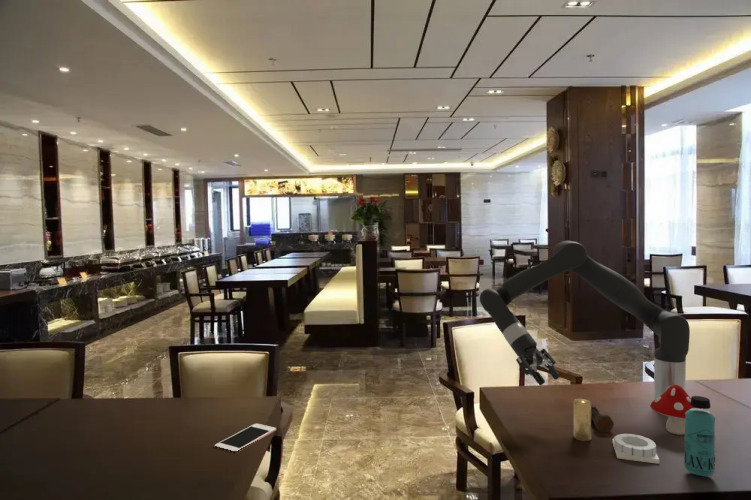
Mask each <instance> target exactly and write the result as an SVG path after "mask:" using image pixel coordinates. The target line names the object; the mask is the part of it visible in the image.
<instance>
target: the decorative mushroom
mask: <svg viewBox="0 0 751 500" xmlns="http://www.w3.org/2000/svg"><path fill="white" fill-rule="evenodd" d="M690 402H691V396H690V395H689V394H688V393H687V391H686V392H685V390H684V389H683V388H682V387H681V386H679V385H671V386H669V387H667V389H666V391H665V392H664V393H663V394H662V395H660V396H659V397H658V398H656V399H655V400H654V399H653V400H652V401H651V403H650V404H649V406H650V408H651V409H652V410H653V411H655V413H657V414H661V415H663V416H665V417H667V421H666V424H665V429H666V431H668V433H670V434H673V435H677V436H682V435H683V436H684V435H685V417H686V415H685V412H686V411H688V410H690V409H692V408H696V407H693V406H691V405H690ZM698 409H701V408H698Z"/></svg>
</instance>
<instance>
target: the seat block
mask: <svg viewBox="0 0 751 500" xmlns="http://www.w3.org/2000/svg"><path fill="white" fill-rule="evenodd" d="M611 440H612V445H613V448H614V452H615V456H616V458H617V459H618V460H619V459H622V460H627V461H636V462H644V463H651V464H658V465H659V464H660V458H659V456H658V453H657V445H656V443H655V442H654V440H652V439H650V438H648V437H646V436H642V435H639V434H634V433H619V434H617V435H615V436H614V437H613V438H612V439H611Z"/></svg>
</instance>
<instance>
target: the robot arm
mask: <svg viewBox="0 0 751 500" xmlns="http://www.w3.org/2000/svg"><path fill="white" fill-rule="evenodd" d="M587 252H588V251H587V249H586V248H585V246H584V245H583V244H582V243H579V242H577V241H572V240H563V241H560V242H558V243H557V244H555V245H554V247H553V250H552V254H553V255H552V256H551V257H549V258H547V259H546V260H544V261H542V262H541V263H539V264H536V265H533V266H530V267H529V268H526V269H523V270H522V271H519V272H518V273H516V274H515V275H513V276H510V278H508V279H507V280H504V281H503V282H502V285H501V287H500V288H498V289H496V290H495V289H493V288H486V289H483V290H482V291H481V293H480V295H479V302H480V304H481V307H482V308H483V310H484V311H485V312H486V313H488V314H489V316H490V317H491V318H492V320H493V322H494V323H495V325H496V327H497V329H498V330H499V331H500V332H501V335H503V337H504V338H505V341H506V342H507V343H508V345H509V346H510V347H511V349H512V350H513V352H514V353H515V354H516V356H517V358H516V359H515V361H516V362H517V364H518V365H519V367H520V369H521V370H522V371H523V373H524V374H525V375H526V376H529V375H530V376H532V377H533V379H534V380H535V382H536V383H537V384H538V385H539V386H542V385H543V384H545V383H546V380H545V379H544V377H543V376H542V374H541V373H540V372H539V371H538V368H537V367H539V366H540V367H541V368H544V369H546V370H547V372H548V373H549V374H550V375H551V377H552V378H553V380H555V381H556V380H558V379H560V378H561V375H560V373H559V372H558V371H557V369H556V368H555V367H554V365H555V364H556V363H557V361H555V360H554V358H553V356H552V355H551V354H550V353H549V352H548V351H547V350H546V348H544V347H543V348H542V349H541V350H539V349H538V348H537V346H538V344H537V342H536V341H535V339H534V338H533V336H532V335H531V334H530V332H529V331H528V330H527V329H526V327H525V326H524V325H523V323H521V322H520V321H519V320H518V318H517V316H516V315H515V314H514V313H513V312H512V311H511V309H510V308H509V307H508V305H510V304H511V302H513V301H514V300H515V299H517V298H519V297H520V296H522V295H524V294H526V293H528V292H529V291H531V290H532V289H534V288H536V287H537V286H539V285H541V284H543V283H544V282H547V281H549V280H550V279H552V278H554V277H557V276H558V275H559V276H560V275H561V274H563V273H566V272H568V271H571V272H572V273H574V274H575V275H577V276H579V277H580V278H581V279H583V280H584V281H585V282H587V283H588V284H589V285H590V286H591V287H592V288H594V289H595V290H596V291H597V292H598V293H599V294H600V295H602V296H603V297H605V299H607V300H609V301H610V302H612V303H613V304H615V305H616V306H618V307H619V308H620V309H622V310H624V311H625V312H628V313H629V314H631V315H632V316H634V317H635V318H636V319H638V320H639V321H640V322H641V323H642V324H644V326H646V327H647V328H648V329H649V330H650V331H652V332H653V334H655V335H657V336H658V337H660V343H659V344H660V345H659V347H658V348H655V349H654V353H653V358H654V359H653V364H654V365H653V366H654V368H653V371H654V373H653V374H654V378H653V380H654V381H653V387H654V388H653V391H654V392H653V401H654V400H655V399H656V398H658V397H659V396H660V395H662V394H663V393H664V392H665V391H666V389H667V387H669V386H671V385H679V386H681V387H682V388H683V389H684V390H685V392H686V393H687V390H686V389H687V387H686V385H687V384H686V383H687V381H686V379H687V378H686V377H687V375H686V370H687V369H686V368H687V365H686V362H687V355H688V354H689V349H690V347H689V346H690V324H689V322H688V320H687V319H686V318H685V317H684V316H682V315H680V314H677V313H674V312H670V311H668V310H666V309H663V308H661V307H660V306H658V305H656V304H655V303H654V302H652V301H650V300H649V299H648V298H647V297H646V296H645V295H644V294H643V292H642V291H641V289H640V288H639V287H638V286H637V285H636V284H634V283H633V282H631V281H630V279H627V278H626V277H625V276H623V275H622V274H620V273H618V272H617V271H614V270H613V269H611V268H609V267H607V266H605V265H604V264H602V263H600V262H597V261H596V260H594V259H593V258H591V257H590V256H589V255H588V253H587Z"/></svg>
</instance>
